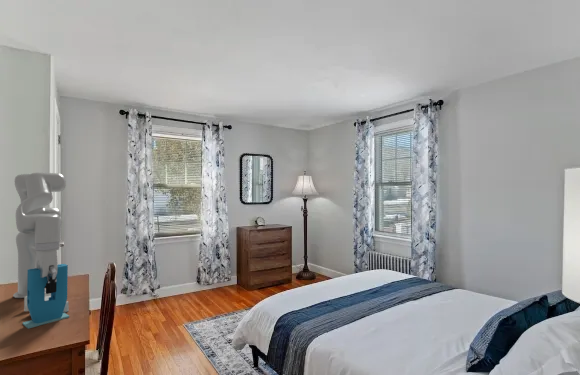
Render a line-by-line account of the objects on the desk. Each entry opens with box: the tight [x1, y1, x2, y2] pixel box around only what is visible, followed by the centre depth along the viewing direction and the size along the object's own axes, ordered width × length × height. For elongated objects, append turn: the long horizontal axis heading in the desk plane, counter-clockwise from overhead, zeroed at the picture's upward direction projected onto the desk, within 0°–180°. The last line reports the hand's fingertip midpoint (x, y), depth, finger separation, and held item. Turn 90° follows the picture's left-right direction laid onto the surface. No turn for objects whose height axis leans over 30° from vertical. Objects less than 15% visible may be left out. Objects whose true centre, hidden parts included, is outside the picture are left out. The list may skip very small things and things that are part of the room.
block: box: [27, 263, 69, 323], centre depth 122 cm, size 12×5×20 cm, turn 144°
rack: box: [23, 292, 70, 317], centre depth 131 cm, size 16×11×6 cm
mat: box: [22, 312, 70, 329], centre depth 121 cm, size 7×13×1 cm, turn 143°
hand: (46, 290), depth 122 cm, fingers open, 9 cm apart
